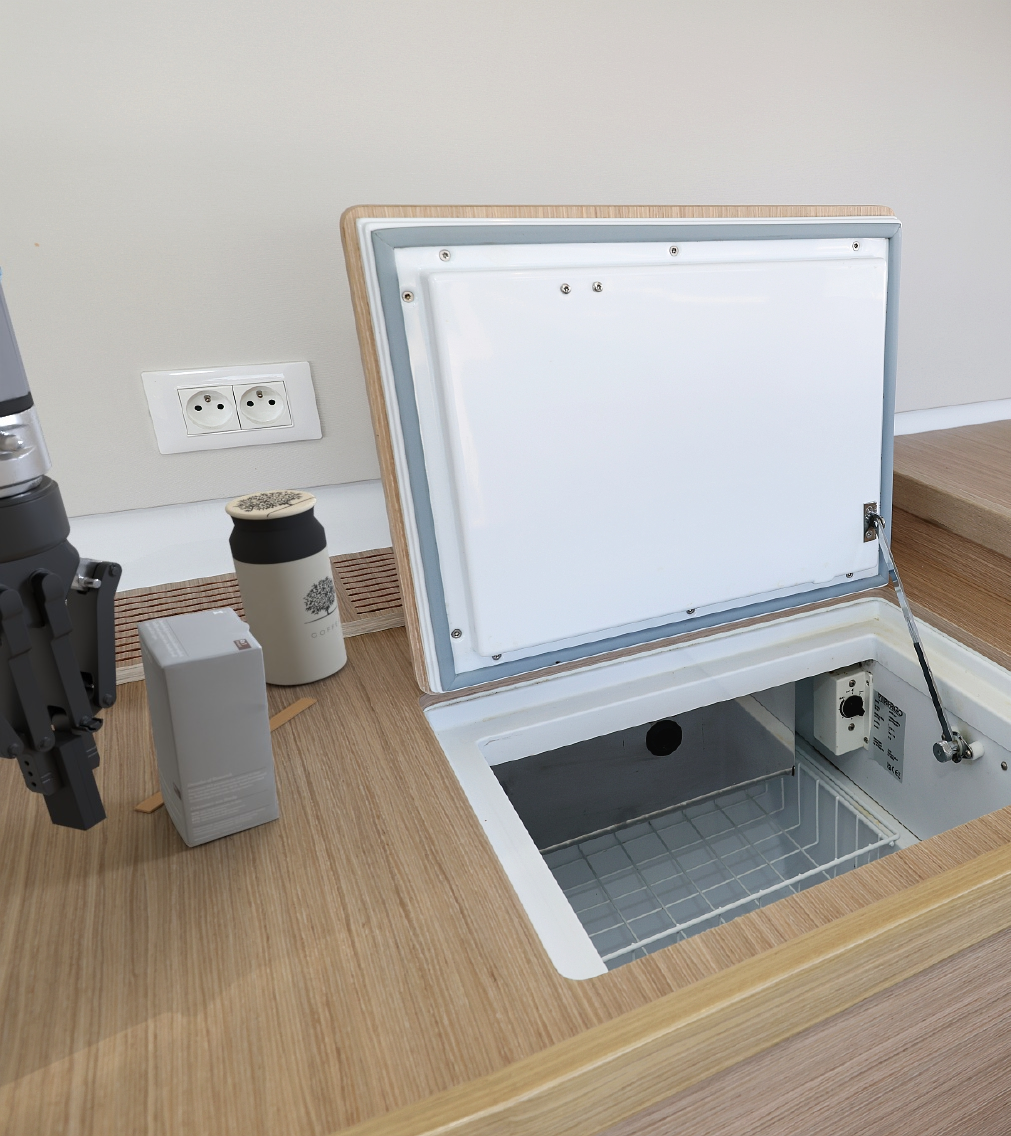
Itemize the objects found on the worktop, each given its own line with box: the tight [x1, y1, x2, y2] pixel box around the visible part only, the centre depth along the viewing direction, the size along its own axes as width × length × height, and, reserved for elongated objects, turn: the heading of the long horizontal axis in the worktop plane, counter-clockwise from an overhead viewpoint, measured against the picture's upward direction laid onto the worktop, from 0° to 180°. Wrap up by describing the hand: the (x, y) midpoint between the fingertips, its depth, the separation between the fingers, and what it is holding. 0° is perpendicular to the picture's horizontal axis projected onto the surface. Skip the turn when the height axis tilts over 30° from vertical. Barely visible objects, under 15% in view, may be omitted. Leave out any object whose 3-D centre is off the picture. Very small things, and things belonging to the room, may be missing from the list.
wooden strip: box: [133, 697, 318, 814], centre depth 83 cm, size 2×18×1 cm, turn 167°
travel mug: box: [224, 489, 348, 686], centre depth 93 cm, size 8×8×18 cm
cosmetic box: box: [136, 606, 280, 848], centre depth 73 cm, size 8×7×16 cm
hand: (79, 820), depth 63 cm, fingers closed
